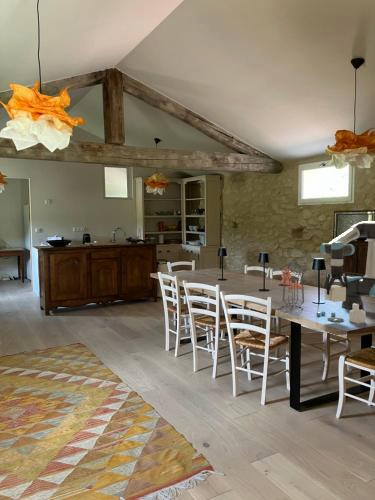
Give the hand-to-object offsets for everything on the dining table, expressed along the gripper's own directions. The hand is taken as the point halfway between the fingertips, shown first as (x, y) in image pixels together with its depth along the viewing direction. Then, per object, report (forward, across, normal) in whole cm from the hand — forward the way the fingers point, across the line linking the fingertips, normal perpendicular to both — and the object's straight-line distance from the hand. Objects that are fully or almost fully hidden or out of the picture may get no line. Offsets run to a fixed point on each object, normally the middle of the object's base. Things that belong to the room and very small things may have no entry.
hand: (336, 299), depth 257 cm
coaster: (+14, 0, 0) cm, 14 cm away
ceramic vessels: (+14, -32, -121) cm, 126 cm away
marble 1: (+12, +5, -11) cm, 17 cm away
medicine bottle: (+14, -11, +7) cm, 20 cm away
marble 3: (+13, -6, -10) cm, 17 cm away
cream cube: (+1, 0, -1) cm, 1 cm away
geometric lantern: (+14, +8, -42) cm, 45 cm away
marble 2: (+12, 0, -13) cm, 18 cm away
